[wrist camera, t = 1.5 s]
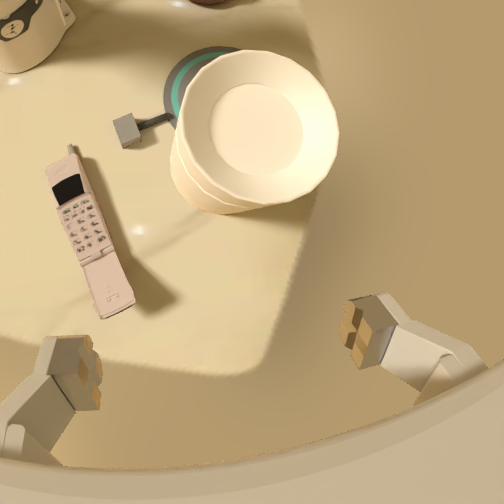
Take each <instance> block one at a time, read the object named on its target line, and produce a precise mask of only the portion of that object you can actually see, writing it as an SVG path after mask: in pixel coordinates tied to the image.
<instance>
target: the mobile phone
mask: <svg viewBox="0 0 504 504" xmlns="http://www.w3.org/2000/svg"><path fill="white" fill-rule="evenodd" d="M67 148H68V152H69V156H67V157H65V158H63V159H61V160H59V161H57V162H55V163H53V164H52V165H50V166H48V167H46V169H45V173H46V177H47V181H48V184H49V187H50V191H51V194H52V197H53V200H54V203H55V206H56V209H57V212H58V214H59V217H60V220H61V222H62V225H63V227H64V229H65V232H66V234H67V236H68V239H69V241H70V243H71V245H72V247H73V250H74V252H75V254H76V256H77V258H78V260H79V262H80V265H81V266H82V268H83V272H84V275H85V278H86V281H87V285H88V288H89V291H90V294H91V297H92V300H93V303H94V304H93V306H94V309H95V312H96V313H97V314H98V316H99V318H100V319H107V318H109V317H111V316H113V315H115V314H118V313H120V312H122V311H124V310H126V309H127V308H129V307H131V306H133V305H134V304H135V302H136V300H135V297H134V292H133V290H132V288H131V286H130V285H129V283H128V281H127V278H126V276H125V274H124V271H123V269H122V267H121V264H120V262H119V259H118V257H117V255H116V252H115V247H114V245H113V242H112V240H111V237H110V234H109V231H108V228H107V226H106V223H105V221H104V218H103V215H102V213H101V211H100V208H99V205H98V203H97V200H96V198H95V195H94V193H93V190H92V188H91V185H90V183H89V181H88V178H87V176H86V173H85V171H84V168H83V165H82V164H81V162H80V159H79V157H78V155H77V154H76V153H75V151H74V148H73V146H72V144H70V145H68V146H67Z"/></svg>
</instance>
